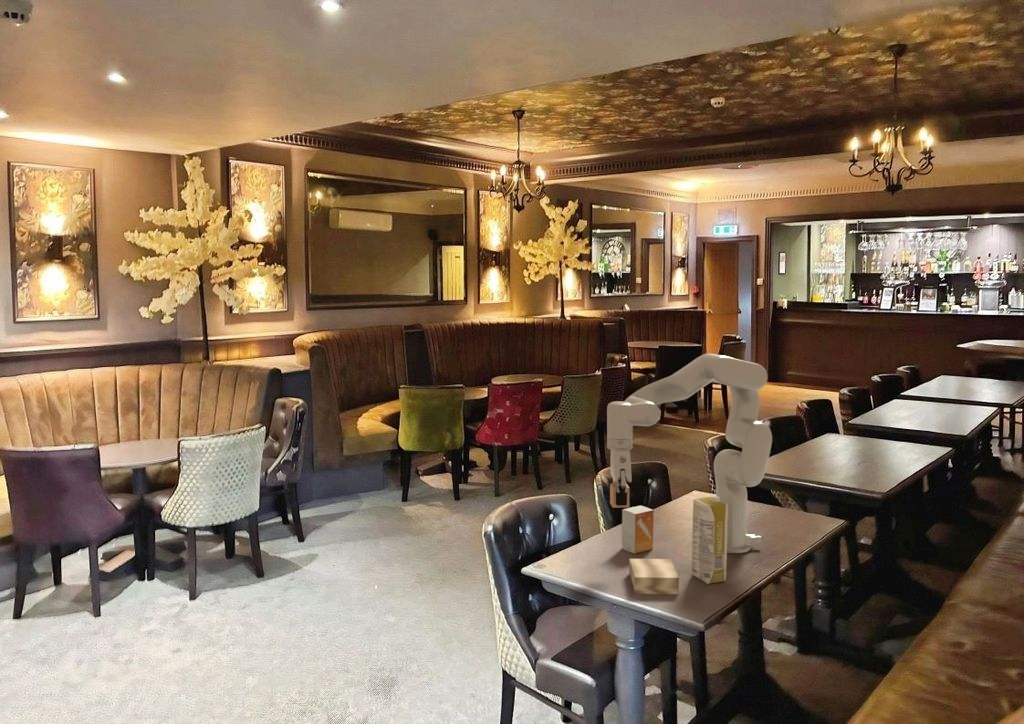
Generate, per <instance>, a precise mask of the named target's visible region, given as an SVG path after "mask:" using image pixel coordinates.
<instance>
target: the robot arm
mask: <svg viewBox="0 0 1024 724" xmlns="http://www.w3.org/2000/svg"><path fill="white" fill-rule="evenodd" d="M767 381H768V373H767V370H766V369H765V367H764V366H763V365H761V364H759V363H757V362H756V363H755V362H751V361H746V360H742V359H738V358H735V357H731V356H727V355H723V354H722V355H721V354H715V353H704V354H702V355H700V356H698V357H696V358H695V359H693V360H692V361H691V362H689V363H688V364H686V365H685V366H683V367H682V368H681V369H679V370H678V371H677V370H676V372H673V374H671V375H669V376H667V377H664V378H661V379H659V380H656V381H654V382H651V383H649V384H647V385H645V386H642V387H641V388H640V389H637V390H636V391H635V392H633V393H632V394H631V395H629V396H628V397H627V398H626V399H625V400H623V401H621V400H620V401H619V400H617V401H612V402H609V403H608V404H607V406H606V409H607V410H606V417H607V418H606V430H607V431H606V433H607V434H606V440H607V442H606V446H607V447H606V448H607V449H608V450H610V477H611V478H612V484H613V483H617V492H616V505H617V506H622V505H627V486H626V483H627V482H628V483H629V484H630V483H632V480H633V479H632V460H631V450H632V449H633V441H634V440H633V439H634V438H633V437H634V435H633V429H634V428H633V426H637V427H651V426H653V425H655V424H657V423H658V422H659V421H660V419H661V415H662V414H661V408H659V406H658V405H661V404H664V403H665V404H667V403H671V402H679V401H684V400H686V399H689V398H690V397H692V396H693V395H695V394H696V393H697V392H699V391H700V390H701V389H703V388H704V387H706V386H707V385H709V384H710V383H717V384H722V385H724V386H727V387H728V389H729V391H730V393H731V394H730V395H731V406H730V410H729V415H728V418H727V419H728V420H727V423H726V428H725V439H726V441H727V442H728V443H729V444H731V445H733V446H736V447H738V448H741V449H742V450H741V451H739V450H736V449H732V448H731V449H729V448H728V449H727V448H726V449H723V450H721V451H719V452H718V453H717V454H716V456H715V457H714V460H713V472H714V478H715V490H716V491H715V493H716V494H715V496H718V497H720V498H719V501H720V502H723V503H727V504H728V520H727V554H743V553H744V554H745V553H748V552H749V551H751V549H752V545H751V544H752V543H762V540H763V539H762V537H761V535H755V534H748V533H747V514H748V513H747V511H748V506H747V505H748V489H747V487H748V488H752V487H753V488H754V487H756V486H758V485H759V484H761V482H762V480H763V479H764V476H765V473H766V469H767V465H768V462H769V457H770V454H771V448H772V444H773V435H772V431H771V429H770V427H769V426H768V425H767V424H766V423H764V422H763V421H760V420H758V416H759V410H760V405H761V401H760V394H759V390H762V389H763V388H764V387H765V385H766V384H767ZM619 484H621V485H620V486H619Z"/></svg>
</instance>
